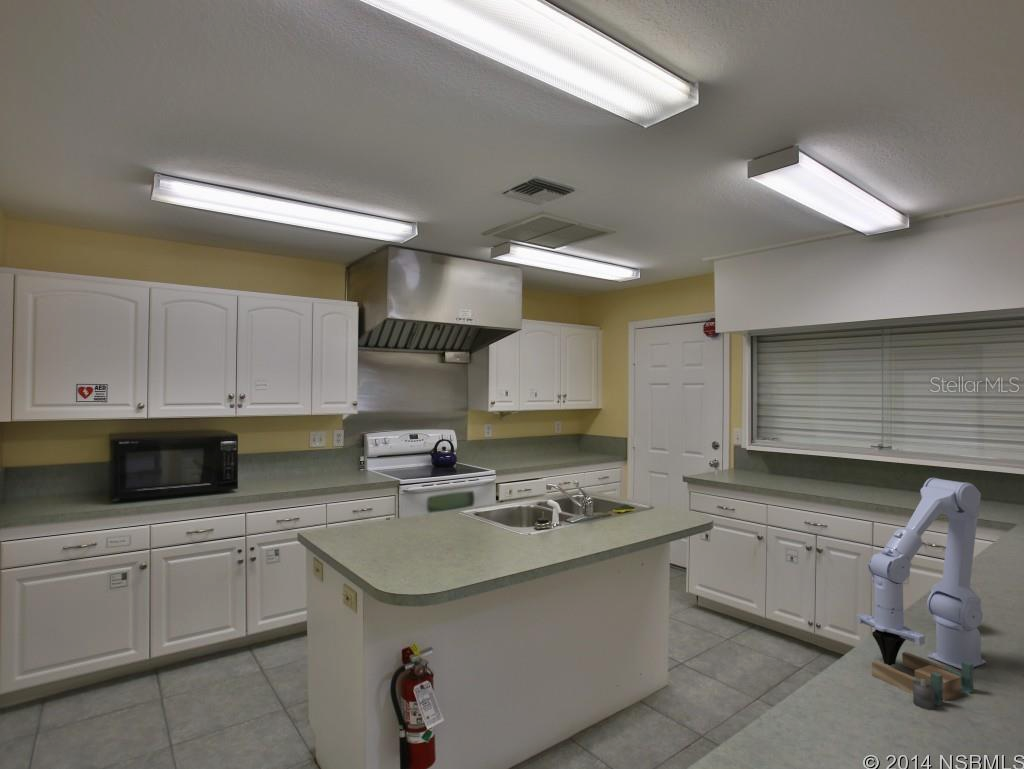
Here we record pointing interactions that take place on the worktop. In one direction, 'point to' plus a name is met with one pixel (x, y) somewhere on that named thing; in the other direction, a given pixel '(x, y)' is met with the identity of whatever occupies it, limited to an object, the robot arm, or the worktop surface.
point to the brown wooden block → (949, 680)
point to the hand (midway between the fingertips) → (889, 663)
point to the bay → (922, 680)
